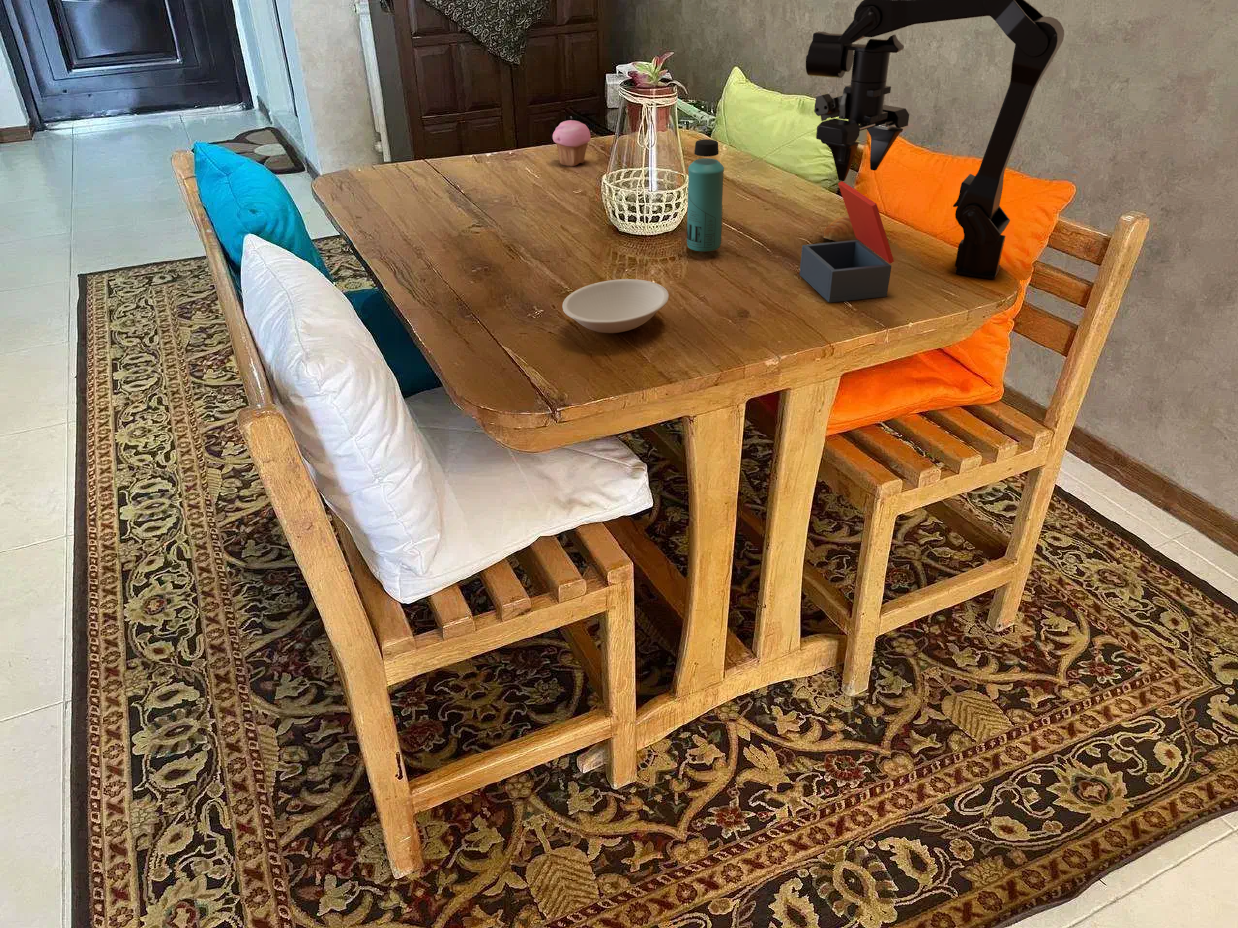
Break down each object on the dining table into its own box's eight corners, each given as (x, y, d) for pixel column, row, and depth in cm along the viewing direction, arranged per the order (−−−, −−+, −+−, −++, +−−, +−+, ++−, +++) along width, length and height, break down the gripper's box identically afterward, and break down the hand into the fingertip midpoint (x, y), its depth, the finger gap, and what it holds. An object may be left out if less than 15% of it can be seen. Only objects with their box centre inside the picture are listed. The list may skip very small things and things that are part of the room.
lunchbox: (828, 303, 147) (832, 271, 144) (799, 274, 158) (802, 245, 155) (887, 296, 149) (891, 265, 146) (853, 269, 159) (857, 239, 157)
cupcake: (570, 157, 224) (568, 114, 219) (598, 162, 220) (597, 119, 215) (547, 166, 218) (544, 122, 213) (576, 171, 214) (574, 126, 209)
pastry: (841, 247, 169) (843, 227, 167) (813, 238, 173) (815, 218, 171) (874, 236, 173) (876, 216, 171) (845, 227, 178) (848, 208, 176)
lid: (871, 206, 140) (876, 203, 140) (837, 183, 150) (842, 180, 150) (889, 264, 146) (894, 261, 146) (855, 238, 156) (860, 236, 156)
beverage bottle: (726, 250, 168) (731, 137, 157) (713, 262, 163) (718, 147, 152) (693, 245, 171) (696, 134, 160) (679, 257, 166) (682, 143, 155)
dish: (620, 300, 149) (619, 271, 147) (689, 324, 141) (690, 293, 139) (542, 336, 138) (540, 305, 136) (612, 363, 130) (612, 331, 128)
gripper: (861, 67, 162) (851, 157, 170) (794, 82, 152) (787, 177, 160) (916, 74, 155) (903, 168, 163) (850, 91, 145) (839, 190, 153)
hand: (857, 175), depth 160 cm, fingers open, 9 cm apart
